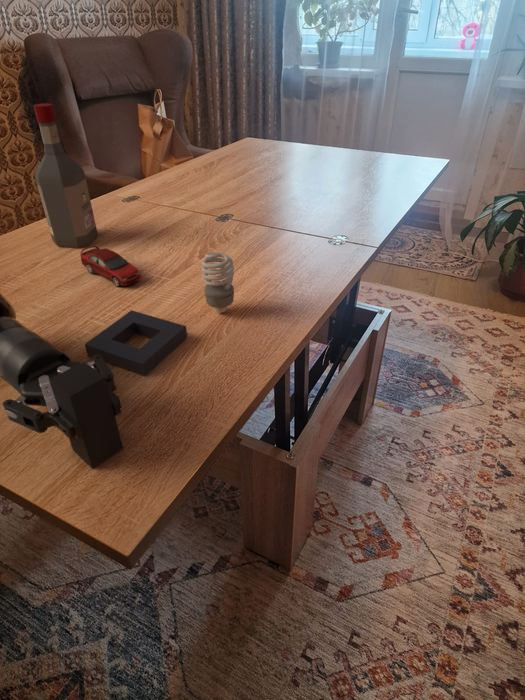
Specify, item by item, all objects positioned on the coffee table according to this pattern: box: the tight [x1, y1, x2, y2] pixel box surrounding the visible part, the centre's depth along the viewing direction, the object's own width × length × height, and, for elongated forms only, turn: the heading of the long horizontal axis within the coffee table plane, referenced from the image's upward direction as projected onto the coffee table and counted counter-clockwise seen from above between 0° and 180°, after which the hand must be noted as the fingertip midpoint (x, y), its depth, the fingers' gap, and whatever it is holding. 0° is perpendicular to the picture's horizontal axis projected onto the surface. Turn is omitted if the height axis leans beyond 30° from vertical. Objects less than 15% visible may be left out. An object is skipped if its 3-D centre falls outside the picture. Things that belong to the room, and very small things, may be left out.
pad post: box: [49, 361, 124, 470], centre depth 59 cm, size 5×5×12 cm
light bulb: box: [201, 251, 235, 314], centre depth 87 cm, size 6×6×12 cm
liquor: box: [33, 102, 99, 249], centre depth 109 cm, size 9×9×30 cm
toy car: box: [80, 245, 142, 288], centre depth 101 cm, size 6×15×5 cm, turn 47°
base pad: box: [84, 309, 188, 377], centre depth 81 cm, size 12×12×2 cm
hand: (99, 420), depth 57 cm, fingers closed on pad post, 4 cm apart
